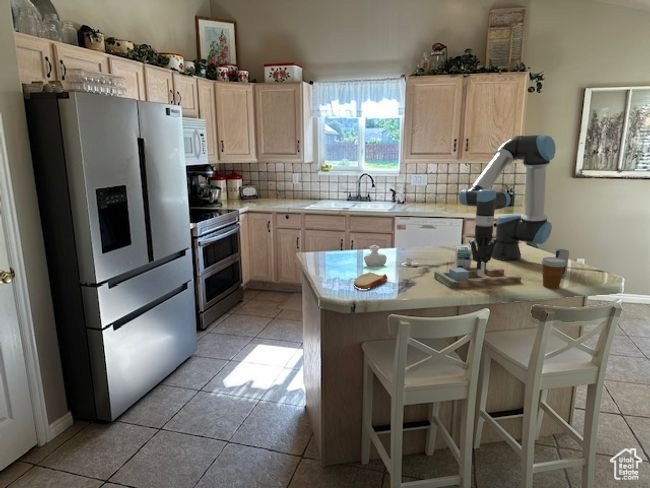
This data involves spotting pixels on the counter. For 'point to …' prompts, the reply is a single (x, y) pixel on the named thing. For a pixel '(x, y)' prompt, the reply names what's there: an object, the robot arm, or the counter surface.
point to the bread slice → (369, 280)
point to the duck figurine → (375, 257)
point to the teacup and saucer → (410, 262)
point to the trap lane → (473, 272)
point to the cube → (458, 274)
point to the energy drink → (563, 255)
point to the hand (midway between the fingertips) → (480, 275)
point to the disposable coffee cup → (552, 271)
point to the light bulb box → (463, 256)
